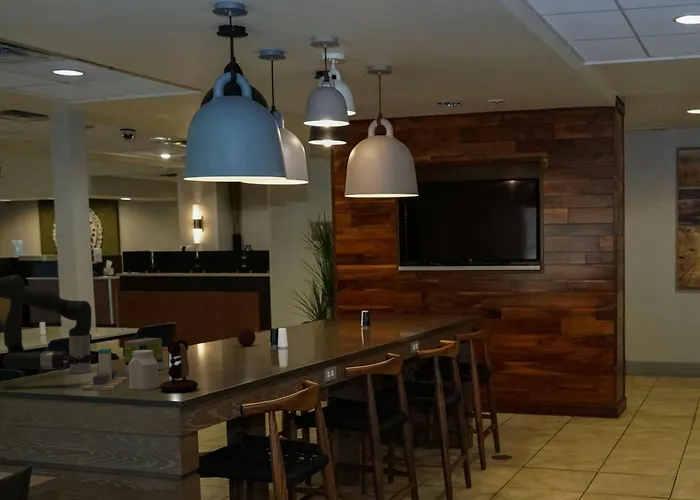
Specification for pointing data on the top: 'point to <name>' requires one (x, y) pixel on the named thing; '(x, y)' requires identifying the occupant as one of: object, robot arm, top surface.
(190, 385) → the dark brown sculpture
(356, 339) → the top surface
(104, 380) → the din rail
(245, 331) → the decorative ball
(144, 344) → the tea box
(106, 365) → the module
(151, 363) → the jar
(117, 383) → the rail board
